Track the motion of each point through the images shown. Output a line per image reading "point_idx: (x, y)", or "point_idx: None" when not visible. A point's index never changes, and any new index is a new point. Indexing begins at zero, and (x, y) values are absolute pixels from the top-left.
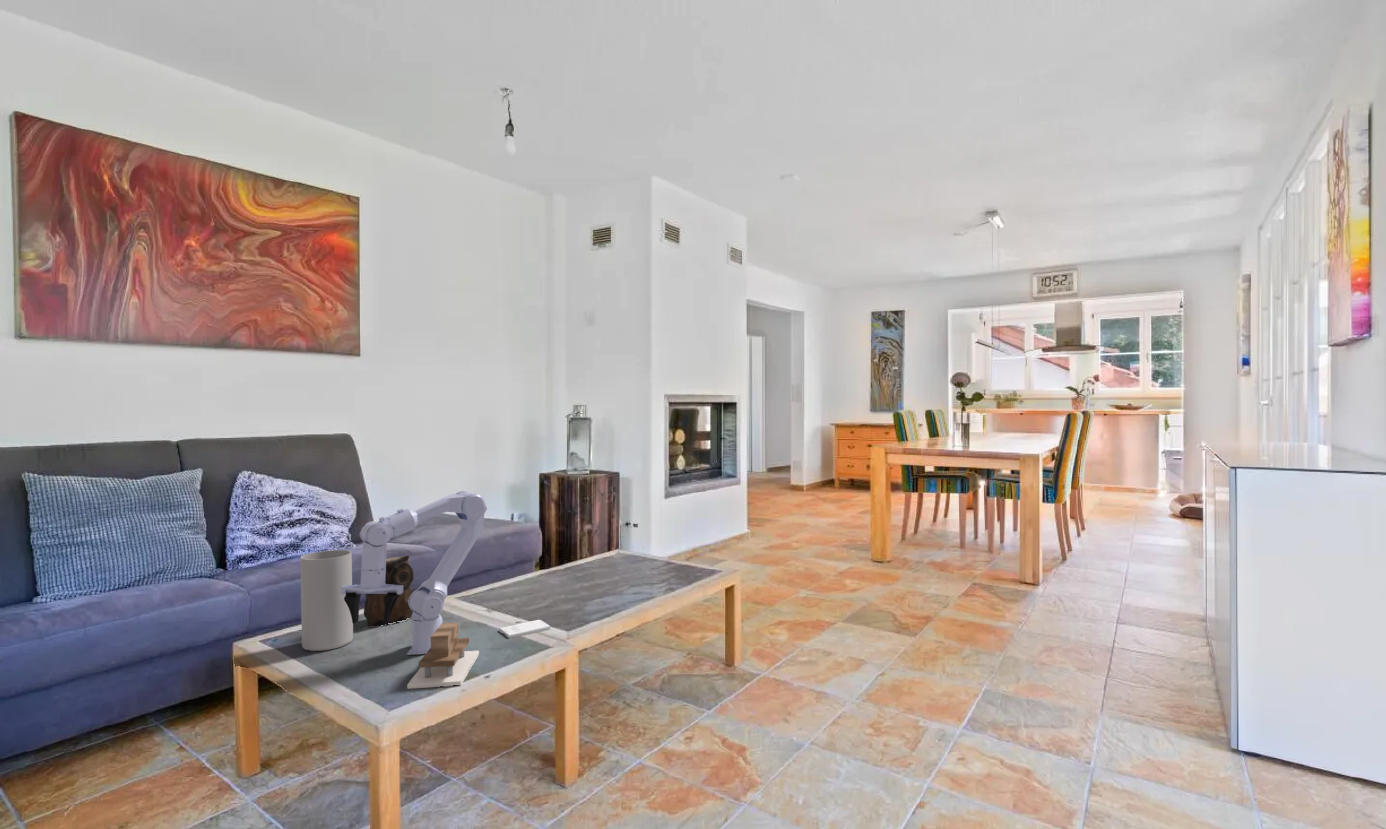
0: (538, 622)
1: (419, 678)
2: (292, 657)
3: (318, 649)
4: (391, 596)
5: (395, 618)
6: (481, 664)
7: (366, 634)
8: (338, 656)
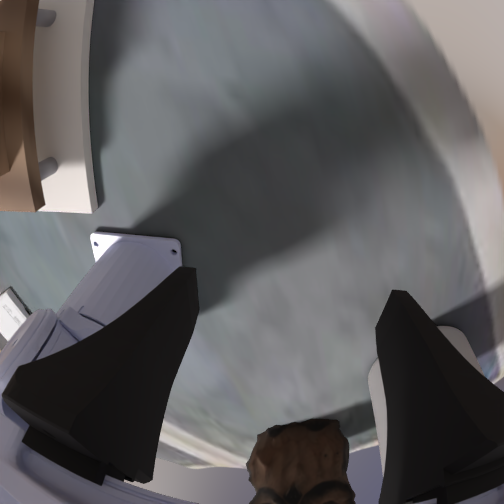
0: (4, 333)
1: (68, 3)
2: (487, 300)
3: (443, 327)
4: (13, 405)
5: (285, 434)
6: None
7: (339, 395)
8: (400, 285)
